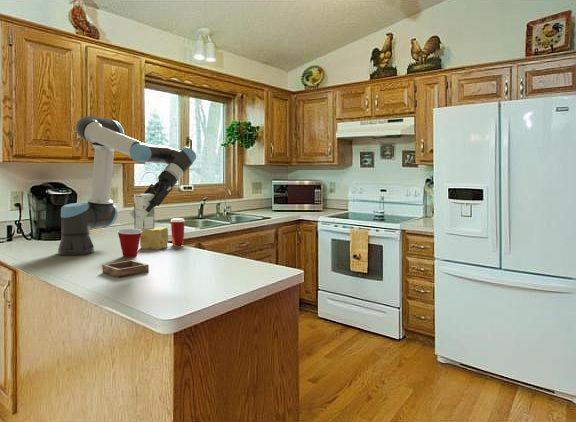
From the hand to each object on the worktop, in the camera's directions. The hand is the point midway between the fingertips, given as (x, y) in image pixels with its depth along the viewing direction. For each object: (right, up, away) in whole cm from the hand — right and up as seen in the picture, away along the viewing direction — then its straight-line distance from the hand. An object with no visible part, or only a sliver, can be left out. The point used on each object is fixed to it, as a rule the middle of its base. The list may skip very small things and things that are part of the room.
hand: (136, 216), depth 160 cm
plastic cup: (-11, -19, +22) cm, 31 cm away
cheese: (-8, -17, +45) cm, 49 cm away
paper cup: (+2, -16, +54) cm, 56 cm away
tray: (0, -21, -9) cm, 23 cm away
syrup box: (+2, -5, +3) cm, 7 cm away
